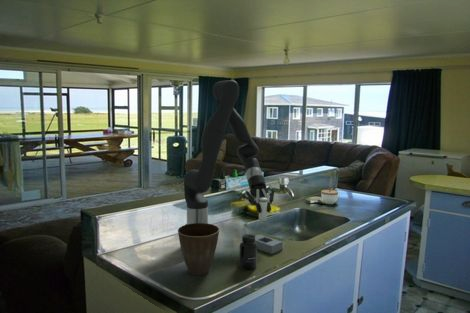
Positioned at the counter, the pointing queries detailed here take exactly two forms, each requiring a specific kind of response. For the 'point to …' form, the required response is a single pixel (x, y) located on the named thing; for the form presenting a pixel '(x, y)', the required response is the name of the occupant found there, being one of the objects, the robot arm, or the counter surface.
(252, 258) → the supplement bottle
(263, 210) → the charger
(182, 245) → the plant pot
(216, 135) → the robot arm
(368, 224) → the counter surface
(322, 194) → the lidded jar
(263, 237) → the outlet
